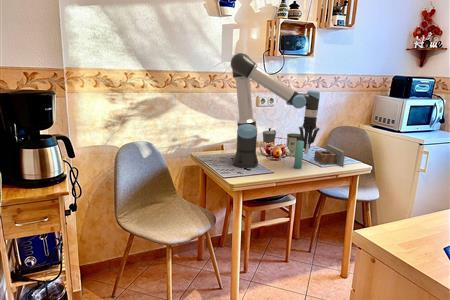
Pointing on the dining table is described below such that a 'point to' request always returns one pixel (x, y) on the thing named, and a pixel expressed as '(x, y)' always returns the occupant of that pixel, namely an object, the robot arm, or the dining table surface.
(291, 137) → the coffee can
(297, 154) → the dowel
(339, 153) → the wall
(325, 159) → the socket block
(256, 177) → the dining table surface
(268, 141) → the coffeepot
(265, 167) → the dining table surface
